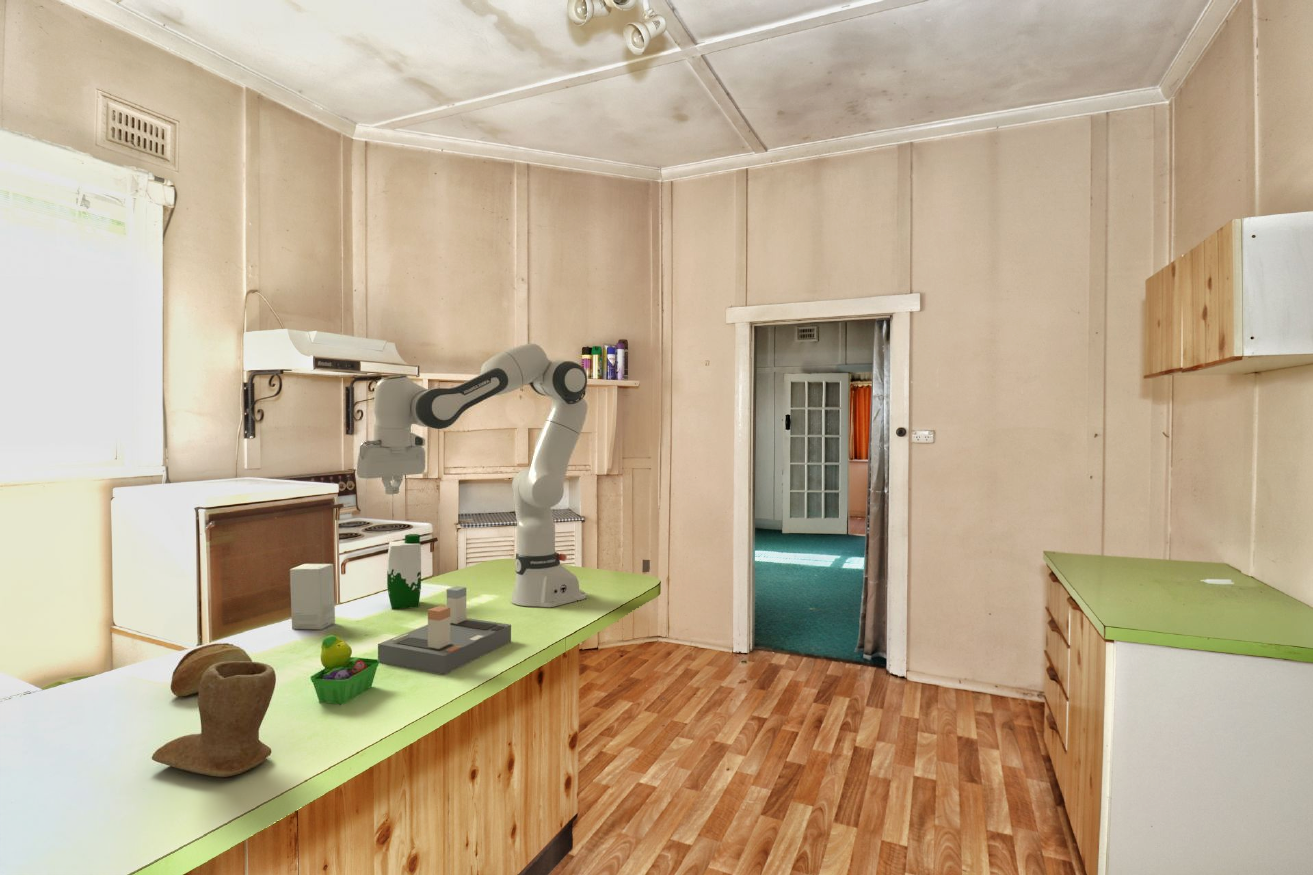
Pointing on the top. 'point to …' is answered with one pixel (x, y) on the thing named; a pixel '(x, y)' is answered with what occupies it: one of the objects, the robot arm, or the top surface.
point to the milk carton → (404, 572)
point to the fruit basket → (342, 672)
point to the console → (463, 648)
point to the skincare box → (312, 596)
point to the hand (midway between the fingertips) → (392, 494)
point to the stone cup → (226, 721)
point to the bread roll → (202, 665)
